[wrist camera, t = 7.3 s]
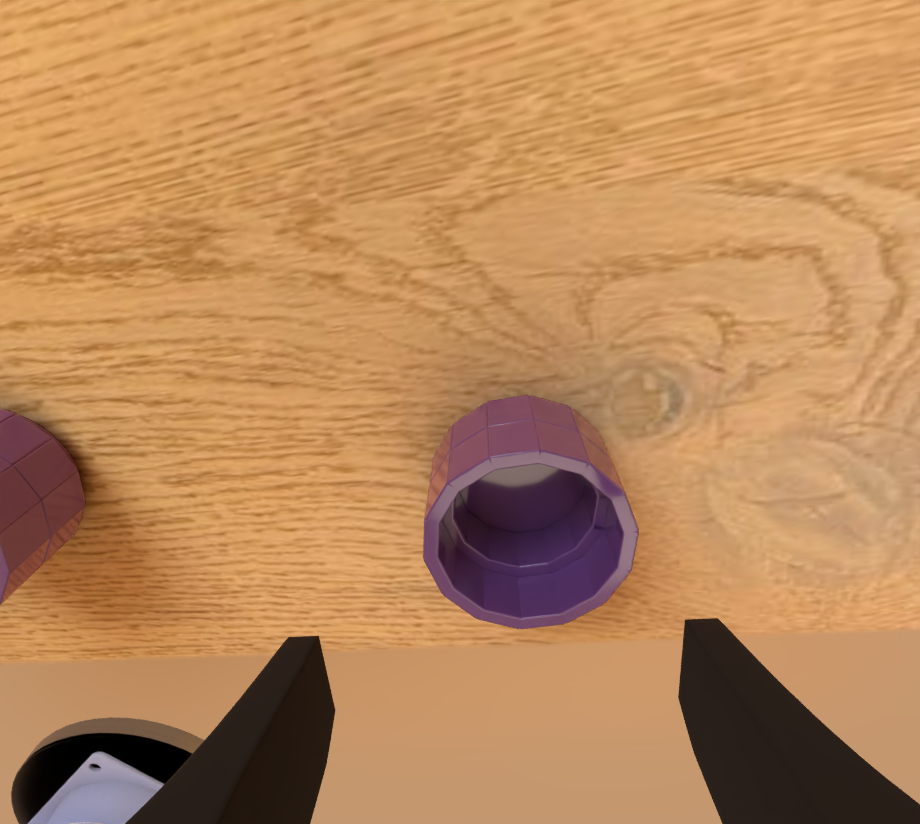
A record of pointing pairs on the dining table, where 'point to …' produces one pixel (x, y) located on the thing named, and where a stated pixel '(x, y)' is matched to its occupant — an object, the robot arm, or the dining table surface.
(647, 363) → the dining table surface
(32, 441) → the purple cup
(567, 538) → the purple cup
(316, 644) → the robot arm
